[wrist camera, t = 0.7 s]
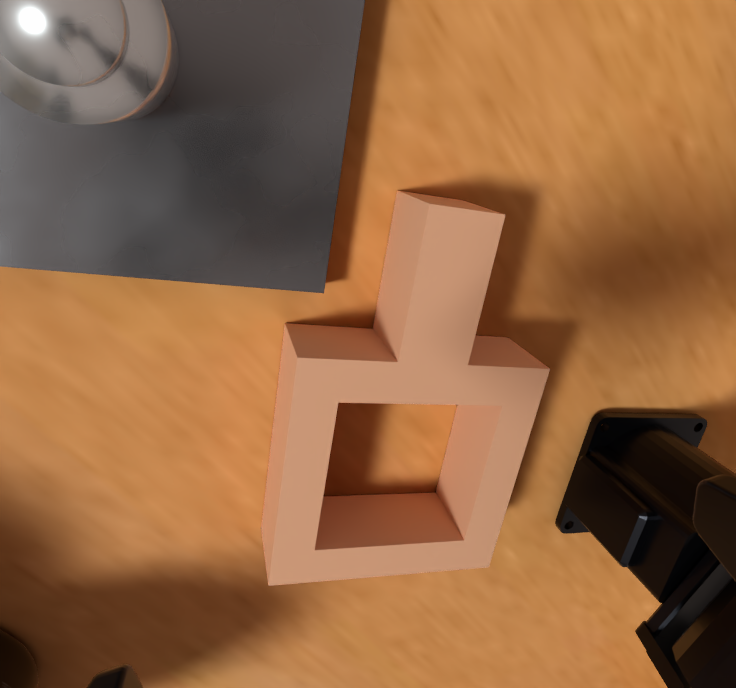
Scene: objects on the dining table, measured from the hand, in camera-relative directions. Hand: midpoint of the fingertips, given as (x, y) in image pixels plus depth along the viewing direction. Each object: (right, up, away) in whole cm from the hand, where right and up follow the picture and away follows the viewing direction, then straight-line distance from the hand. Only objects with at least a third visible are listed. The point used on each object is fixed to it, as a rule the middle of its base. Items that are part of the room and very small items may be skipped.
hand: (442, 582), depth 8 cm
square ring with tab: (0, +2, +13) cm, 13 cm away
